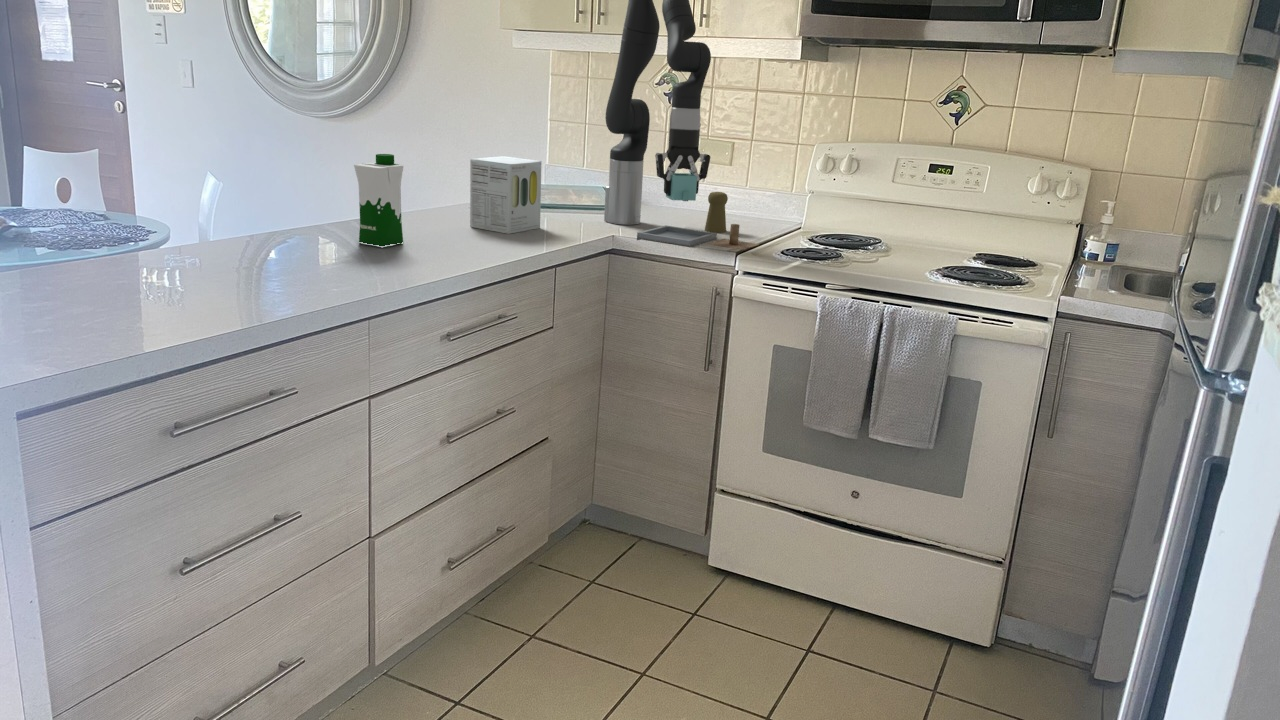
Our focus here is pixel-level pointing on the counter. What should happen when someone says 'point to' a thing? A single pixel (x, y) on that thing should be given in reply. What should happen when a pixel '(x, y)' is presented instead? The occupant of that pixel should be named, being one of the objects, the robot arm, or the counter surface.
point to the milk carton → (380, 201)
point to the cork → (716, 213)
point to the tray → (676, 236)
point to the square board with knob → (734, 240)
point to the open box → (683, 187)
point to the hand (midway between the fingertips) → (680, 195)
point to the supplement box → (505, 194)
